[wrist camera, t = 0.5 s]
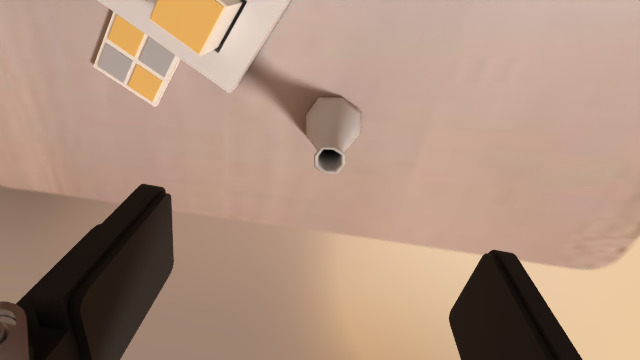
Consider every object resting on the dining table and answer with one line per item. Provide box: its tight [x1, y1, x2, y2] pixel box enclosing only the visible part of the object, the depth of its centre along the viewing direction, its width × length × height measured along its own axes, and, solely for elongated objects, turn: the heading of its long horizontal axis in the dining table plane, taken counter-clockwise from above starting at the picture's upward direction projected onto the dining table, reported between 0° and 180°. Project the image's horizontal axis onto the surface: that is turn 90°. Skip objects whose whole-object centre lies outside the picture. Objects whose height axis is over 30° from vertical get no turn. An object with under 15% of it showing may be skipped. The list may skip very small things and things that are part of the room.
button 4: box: [149, 0, 242, 56], centre depth 32 cm, size 5×5×5 cm
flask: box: [306, 97, 361, 174], centre depth 39 cm, size 7×7×10 cm
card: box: [93, 12, 181, 107], centre depth 40 cm, size 8×8×1 cm
